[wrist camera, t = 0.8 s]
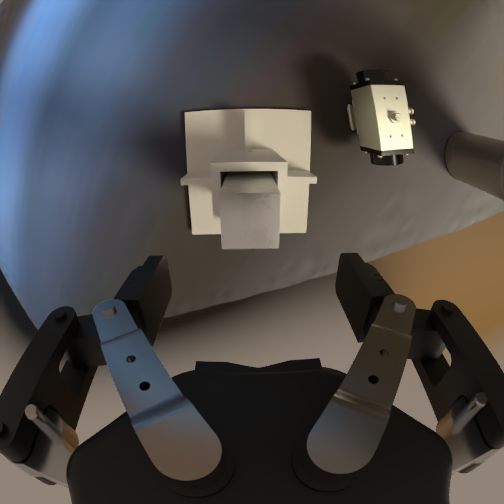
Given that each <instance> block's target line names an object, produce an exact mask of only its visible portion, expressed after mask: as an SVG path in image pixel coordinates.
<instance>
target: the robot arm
mask: <svg viewBox="0 0 504 504" xmlns="http://www.w3.org/2000/svg"><path fill="white" fill-rule="evenodd" d="M445 161H446V165H447V168H448V171H449V173H450V174H451V175H452V176H453V177H454V178H455V179H457V180H459V181H462V182H464V183H467V184H469V185H471V186H473V187H476V188H478V189H480V190H482V191H485V192H487V193H489V194H491V195H493V196H495V197H497V198H499V199H501V200H503V201H504V141H502V140H498V139H494V138H489V137H485V136H480V135H475V134H470V133H465V132H456V133H454V134H453V135H452V136H451V137H450V138H449V140H448V142H447V145H446V150H445ZM335 288H336V294H337V297H338V299H339V301H340V303H341V305H342V308H343V310H344V312H345V314H346V316H347V318H348V320H349V323H350V325H351V327H352V330H353V332H354V334H355V336H356V339H357V341H358V343H359V342H363V344H362V346H361V348H360V350H359V352H358V354H357V356H356V358H355V360H354V362H353V364H352V365H351V368H350V369H349V371H348V373H347V374H345V373H343V372H341V371H338V370H334V369H331V368H326V367H322V366H321V362H320V359H319V358H317V359H305V360H290V361H286V362H282V363H278V364H274V365H270V366H266V367H261V368H255V367H249V366H244V365H239V364H233V363H229V362H201V361H196V366H195V370H193V371H188V372H185V373H181V374H179V375H176V376H174V377H172V378H171V377H170V375H169V374H168V372H167V371H166V369H165V368H164V366H163V365H162V363H161V361H160V360H159V358H158V357H157V355H156V353H155V352H154V350H153V349H152V347H151V346H153V345H154V342H155V339H156V336H157V333H158V331H159V328H160V325H161V322H162V319H163V317H164V314H165V312H166V309H167V306H168V304H169V301H170V299H171V294H172V286H171V280H170V274H169V269H168V263H167V258H166V256H149V257H148V258H147V260H146V261H145V263H144V264H143V266H139V267H137V268H136V269H134V270H133V271H132V272H131V273H130V275H129V276H128V277H127V279H126V280H125V282H124V285H122V286H121V288H120V289H119V291H118V293H117V294H116V296H115V297H114V299H110V300H106V301H104V302H102V303H100V304H98V305H97V306H96V307H95V308H94V310H93V314H91V315H85V316H78V317H77V314H76V312H75V310H74V309H73V308H72V307H69V306H65V307H60V308H58V309H56V310H54V311H53V312H51V313H50V314H49V316H48V317H47V319H46V320H45V321H44V323H43V324H42V326H41V327H40V329H39V330H38V332H37V333H36V335H35V336H34V338H33V339H32V341H31V342H30V344H29V346H28V347H27V349H26V351H25V352H24V354H23V355H22V357H21V359H20V360H19V362H18V364H17V365H16V367H15V369H14V371H13V372H12V374H11V376H10V378H9V380H8V382H7V383H6V385H5V387H4V389H3V391H2V393H1V395H0V453H1V454H3V455H4V456H5V457H6V458H7V459H8V460H9V461H10V462H12V463H13V464H15V465H16V466H17V467H19V468H20V469H22V470H23V471H25V472H26V473H28V474H29V475H31V476H33V477H35V478H37V479H38V480H40V481H42V482H43V483H45V484H48V485H55V484H59V485H62V486H64V487H67V488H69V491H70V495H71V500H72V504H449V487H450V479H451V475H452V474H454V473H456V472H460V473H468V472H470V471H472V470H473V469H475V468H476V467H478V466H479V465H480V464H482V463H483V462H485V461H486V460H487V459H489V458H490V457H491V456H493V455H494V454H495V453H496V452H498V451H499V450H500V449H501V448H503V447H504V373H503V371H502V369H501V368H500V366H499V365H498V363H497V361H496V360H495V359H494V357H493V355H492V354H491V352H490V351H489V349H488V348H487V346H486V345H485V343H484V342H483V341H482V339H481V338H480V336H479V335H478V333H477V332H476V331H475V329H474V328H473V327H472V325H471V324H470V323H469V321H468V320H467V319H466V317H465V316H464V315H463V313H462V312H461V311H460V310H459V308H458V307H457V306H456V305H454V304H453V303H451V302H448V301H446V300H437V301H435V302H434V303H433V306H432V308H431V310H424V309H417V308H416V306H415V304H414V302H413V301H412V300H411V299H409V298H408V297H406V296H403V295H399V294H395V293H394V292H393V290H392V289H391V288H390V287H389V285H388V284H387V282H386V281H385V280H384V279H383V277H382V276H381V275H380V273H379V272H378V271H377V269H376V268H374V267H373V266H372V265H370V264H368V263H365V262H364V261H363V260H362V258H361V257H360V256H359V254H358V253H342V254H341V255H340V259H339V265H338V271H337V277H336V285H335ZM445 347H446V348H447V349H448V351H449V352H450V354H451V359H452V361H451V366H449V364H448V363H447V361H446V359H445V357H444V356H443V354H442V352H443V350H444V349H445ZM63 355H65V357H66V358H67V360H66V363H65V365H64V367H63V369H62V371H61V373H60V371H59V364H60V361H61V359H62V357H63ZM407 359H411V360H412V362H413V364H414V366H415V368H416V370H417V373H418V375H419V377H420V379H421V381H422V384H423V386H424V388H425V391H426V393H427V396H428V398H429V400H430V403H431V405H432V408H433V410H434V413H435V415H436V418H437V421H438V424H437V426H436V432H434V431H433V430H431V429H430V428H428V427H426V426H425V425H423V424H422V423H420V422H418V421H417V420H415V419H414V418H412V417H411V416H409V415H407V414H406V413H404V412H403V411H401V410H400V409H398V408H397V407H395V406H394V405H392V404H393V401H394V399H395V396H396V392H397V390H398V387H399V384H400V380H401V377H402V374H403V371H404V367H405V364H406V360H407ZM100 365H108V368H109V371H110V373H111V376H112V378H113V381H114V383H115V386H116V388H117V391H118V393H119V395H120V397H121V399H122V402H123V404H124V406H125V409H126V412H125V413H123V414H122V415H121V416H119V417H118V418H117V419H115V420H114V421H113V422H111V423H110V424H109V425H107V426H106V427H104V428H103V429H102V430H100V431H99V432H97V433H96V434H95V435H93V436H92V437H90V438H89V439H87V440H86V441H85V442H83V443H82V444H80V445H79V440H78V436H77V434H76V432H75V430H76V427H77V423H78V420H79V417H80V414H81V411H82V408H83V405H84V402H85V400H86V397H87V393H88V391H89V388H90V385H91V383H92V380H93V378H94V375H95V373H96V370H97V367H98V366H100ZM78 445H79V446H78Z"/></svg>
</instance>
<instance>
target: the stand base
mask: <svg viewBox="0 0 504 504" xmlns="http://www.w3.org/2000/svg"><path fill="white" fill-rule="evenodd" d="M185 134H186V156H187V174H186V175H185V176H184V177H183V178H181V185H188V188H189V201H190V213H191V224H192V234H193V235H195V234H221V223H220V203H219V193H220V190H221V188H222V185H223V183H224V181H225V178H226V176H227V173H228V171H270V173H271V175H272V177H273V179H274V181H275V183H276V185H277V187H278V189H279V191H280V193H281V195H280V231H279V233H306V227H307V212H308V195H309V183H313V184H317V177H316V176H315V175H313V174H312V173H311V172H310V145H311V111H306V110H288V109H225V110H207V111H194V112H185Z"/></svg>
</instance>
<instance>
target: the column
mask: <svg viewBox="0 0 504 504" xmlns="http://www.w3.org/2000/svg"><path fill="white" fill-rule="evenodd" d="M280 195H281V193H280V191H279V189H278V187H277V185H276V183H275V181H274V179H273V177H272V175H271V173H270V171H228V173H227V176H226V178H225V181H224V183H223V185H222V188H221V190H220V193H219V203H220V223H221V241H222V249H273V248H279V231H280Z"/></svg>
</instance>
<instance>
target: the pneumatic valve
mask: <svg viewBox="0 0 504 504" xmlns="http://www.w3.org/2000/svg"><path fill="white" fill-rule="evenodd" d="M356 76H357V80H358V83H357V82H354V83H353V85H352V86H350V90H351V95H352V105H353V107H352V105H350V104H348V105H347V106H348V108H347V113H348V118H349V124H350V128H351V129H352V130H356V129H357V134H358V135H359V141H360V149H361V150H362V151H365V154H369V153H370V159H371V163H372V164H375V165H385V166H389V165H399V164H402V163H403V154H404V155H409V153H414V151H413V140H412V131H411V125H415V123H416V122H415V120H414V119H410V116H409V114H411V115H413V114H414V110H413V109H412V108H408V103H407V97H406V92H405V86H404V81H398V79H393V80H392V78H391V74H390V71H388V70H365V71H360V72H357V73H356Z"/></svg>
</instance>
